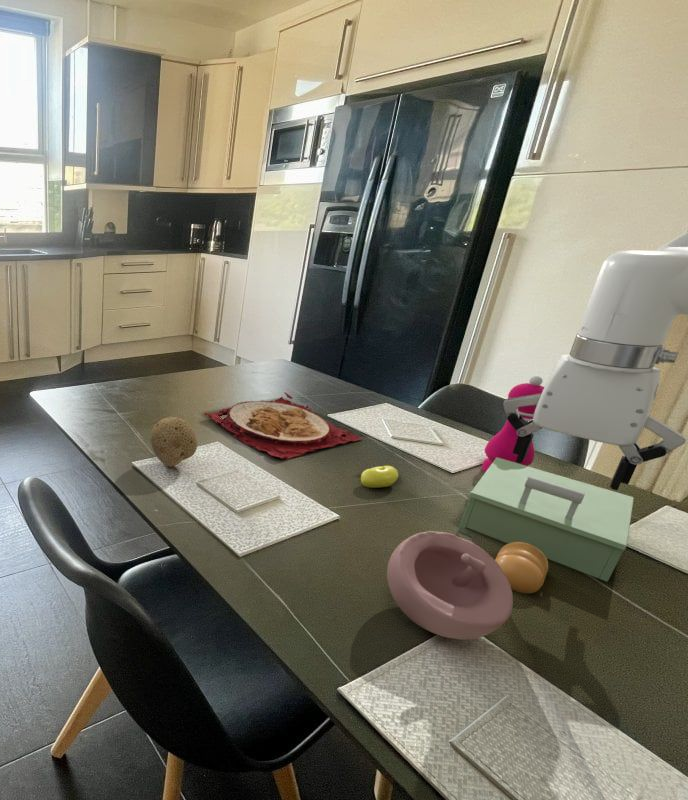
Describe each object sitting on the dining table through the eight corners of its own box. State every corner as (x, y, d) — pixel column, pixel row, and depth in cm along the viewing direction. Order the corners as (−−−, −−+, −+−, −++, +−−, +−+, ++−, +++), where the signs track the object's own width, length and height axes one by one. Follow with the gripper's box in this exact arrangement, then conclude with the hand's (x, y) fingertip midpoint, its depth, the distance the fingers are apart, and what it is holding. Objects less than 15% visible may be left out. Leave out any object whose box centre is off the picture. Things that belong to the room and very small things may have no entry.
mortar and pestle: (401, 655, 55) (428, 575, 51) (362, 581, 66) (382, 510, 62) (518, 671, 53) (556, 589, 49) (459, 592, 64) (485, 520, 60)
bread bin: (603, 589, 65) (624, 548, 63) (457, 531, 77) (470, 494, 74) (613, 539, 76) (631, 502, 73) (482, 494, 87) (495, 461, 85)
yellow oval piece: (351, 482, 91) (356, 464, 89) (385, 476, 93) (390, 458, 91) (369, 494, 87) (374, 475, 85) (404, 488, 89) (410, 469, 88)
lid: (624, 550, 62) (641, 518, 61) (469, 496, 74) (479, 467, 72) (631, 501, 73) (646, 472, 71) (495, 461, 85) (504, 435, 83)
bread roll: (532, 609, 62) (547, 577, 60) (482, 587, 65) (494, 556, 64) (543, 578, 67) (557, 547, 65) (497, 559, 71) (508, 529, 69)
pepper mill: (483, 460, 99) (516, 367, 92) (529, 475, 94) (568, 377, 87) (473, 471, 95) (507, 375, 88) (520, 487, 90) (560, 385, 82)
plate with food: (202, 419, 117) (203, 406, 116) (281, 401, 127) (283, 389, 126) (275, 464, 98) (278, 449, 96) (362, 439, 108) (365, 425, 106)
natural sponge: (180, 451, 101) (184, 407, 98) (203, 471, 94) (209, 424, 90) (141, 457, 98) (144, 412, 95) (162, 479, 91) (166, 431, 87)
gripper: (718, 362, 57) (658, 487, 63) (528, 336, 69) (493, 443, 76) (722, 375, 53) (656, 509, 59) (518, 345, 65) (481, 459, 71)
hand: (564, 472), depth 67 cm, fingers open, 9 cm apart
